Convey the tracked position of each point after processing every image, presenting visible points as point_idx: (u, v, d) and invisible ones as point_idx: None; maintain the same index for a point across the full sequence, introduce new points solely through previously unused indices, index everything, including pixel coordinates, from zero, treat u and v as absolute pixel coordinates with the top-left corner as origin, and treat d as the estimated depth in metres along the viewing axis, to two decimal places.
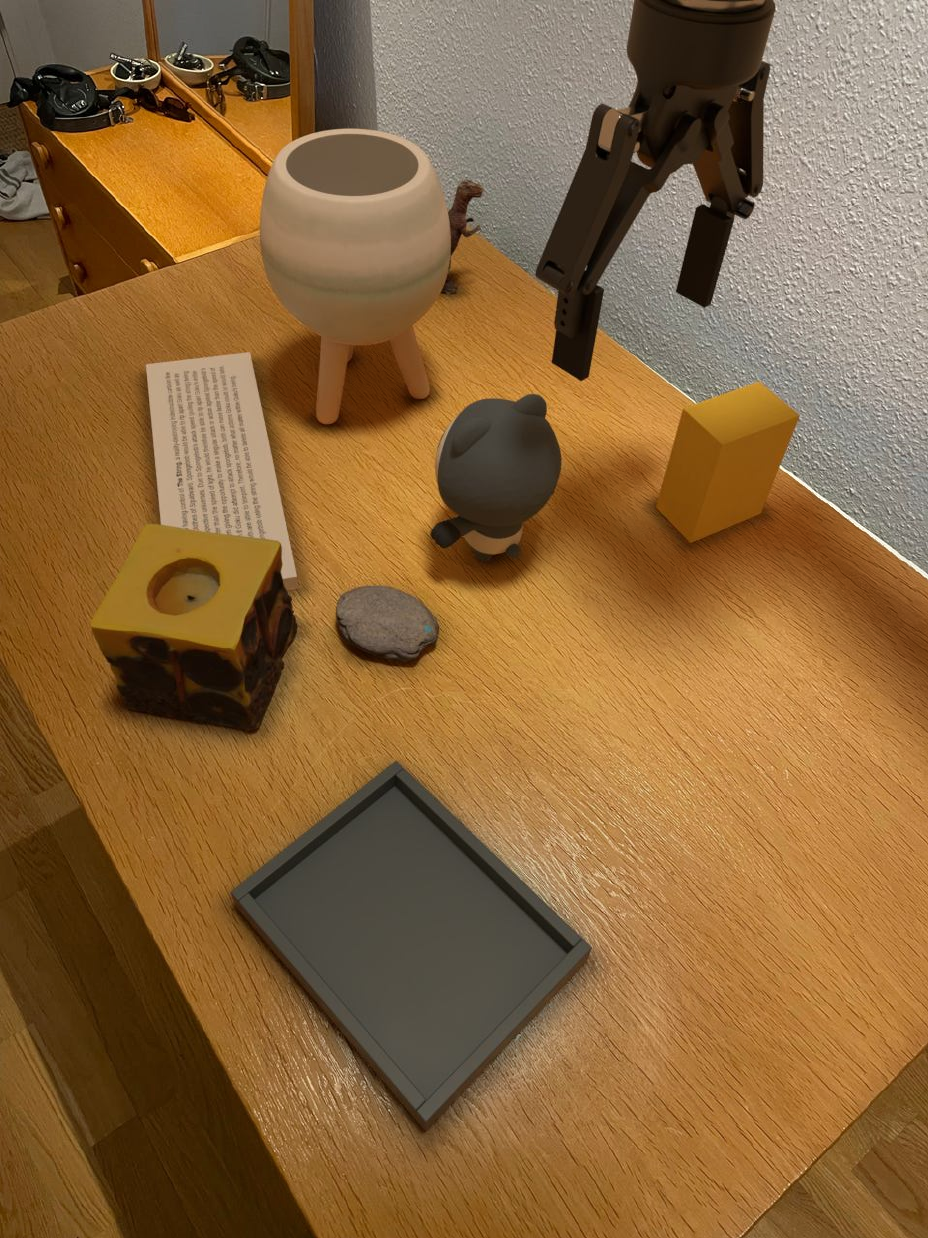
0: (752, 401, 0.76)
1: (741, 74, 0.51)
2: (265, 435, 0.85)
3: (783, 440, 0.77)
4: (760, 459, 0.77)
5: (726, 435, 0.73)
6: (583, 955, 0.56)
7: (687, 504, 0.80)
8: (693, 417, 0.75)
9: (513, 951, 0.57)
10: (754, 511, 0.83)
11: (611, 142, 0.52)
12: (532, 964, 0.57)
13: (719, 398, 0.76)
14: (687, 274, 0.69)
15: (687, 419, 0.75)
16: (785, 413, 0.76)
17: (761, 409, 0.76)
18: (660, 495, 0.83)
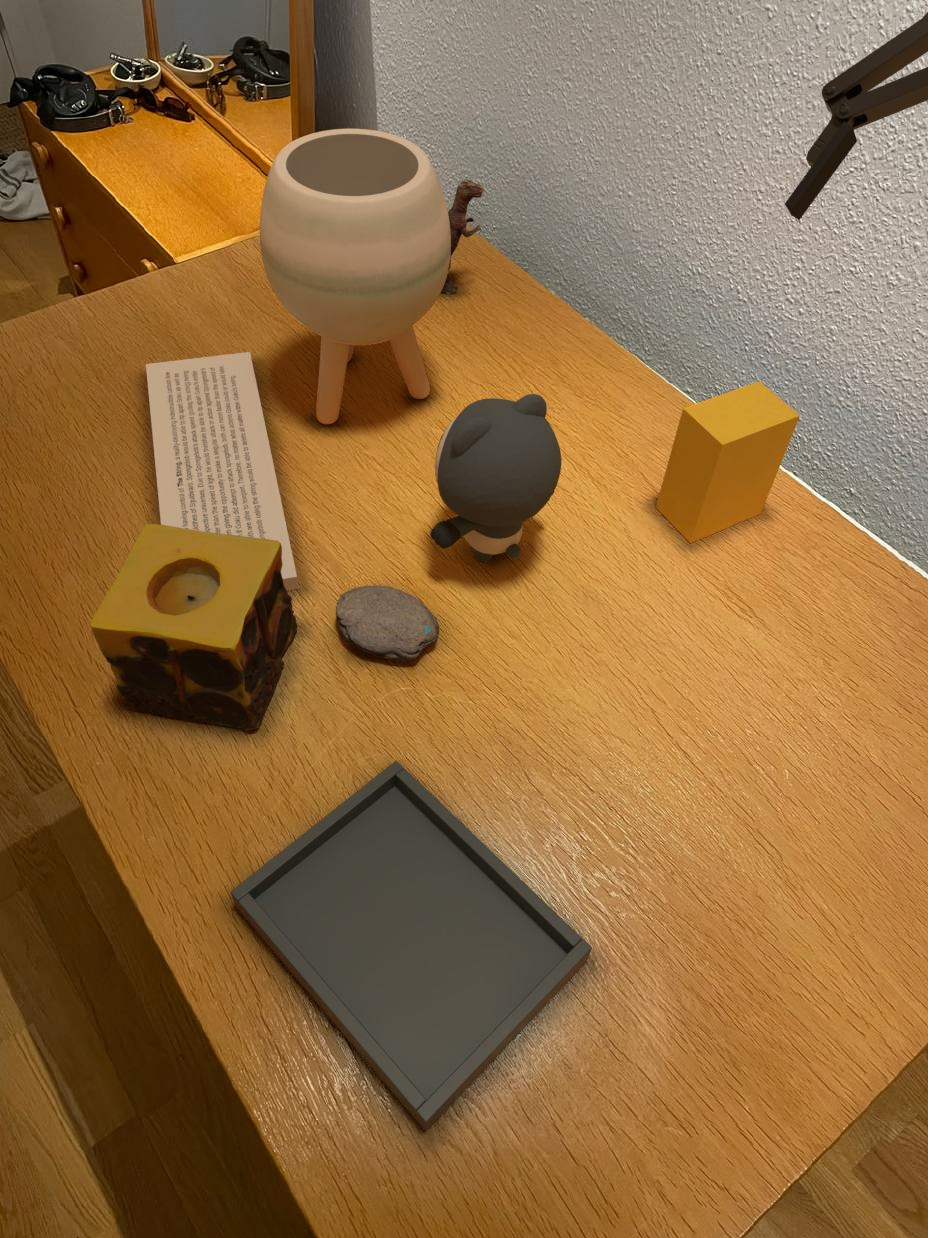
0: (752, 401, 0.76)
1: None
2: (265, 435, 0.85)
3: (783, 440, 0.77)
4: (760, 459, 0.77)
5: (726, 435, 0.73)
6: (583, 955, 0.56)
7: (687, 504, 0.80)
8: (693, 417, 0.75)
9: (513, 951, 0.57)
10: (754, 511, 0.83)
11: None
12: (532, 964, 0.57)
13: (719, 398, 0.76)
14: None
15: (687, 419, 0.75)
16: (785, 413, 0.76)
17: (761, 409, 0.76)
18: (660, 495, 0.83)
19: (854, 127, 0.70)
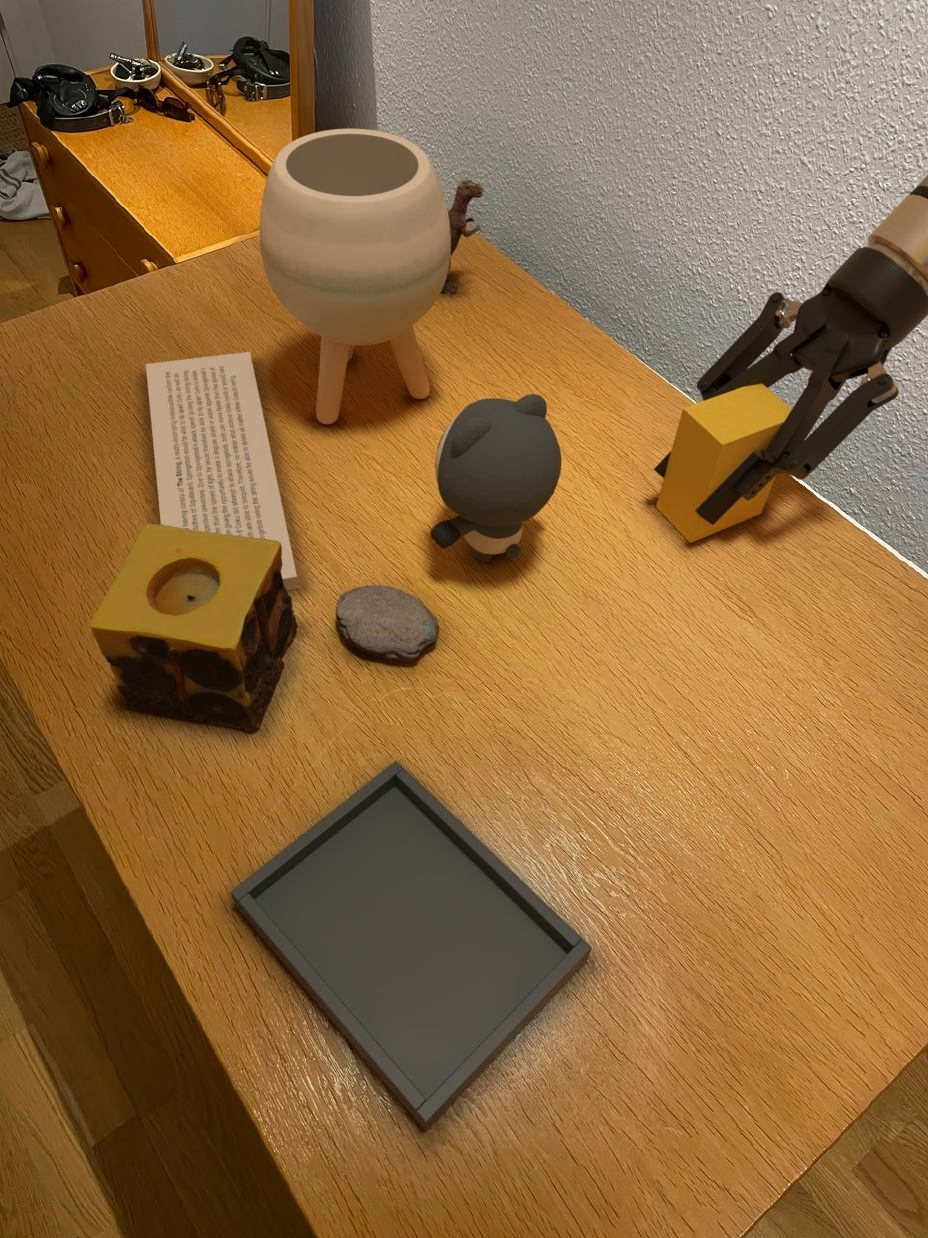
0: (752, 401, 0.76)
1: (849, 280, 0.71)
2: (265, 435, 0.85)
3: None
4: None
5: (726, 435, 0.73)
6: (583, 955, 0.56)
7: (687, 504, 0.80)
8: (693, 417, 0.75)
9: (513, 951, 0.57)
10: (754, 511, 0.83)
11: None
12: (532, 964, 0.57)
13: (719, 398, 0.76)
14: None
15: (687, 419, 0.75)
16: (785, 413, 0.76)
17: (761, 409, 0.76)
18: (660, 495, 0.83)
19: None
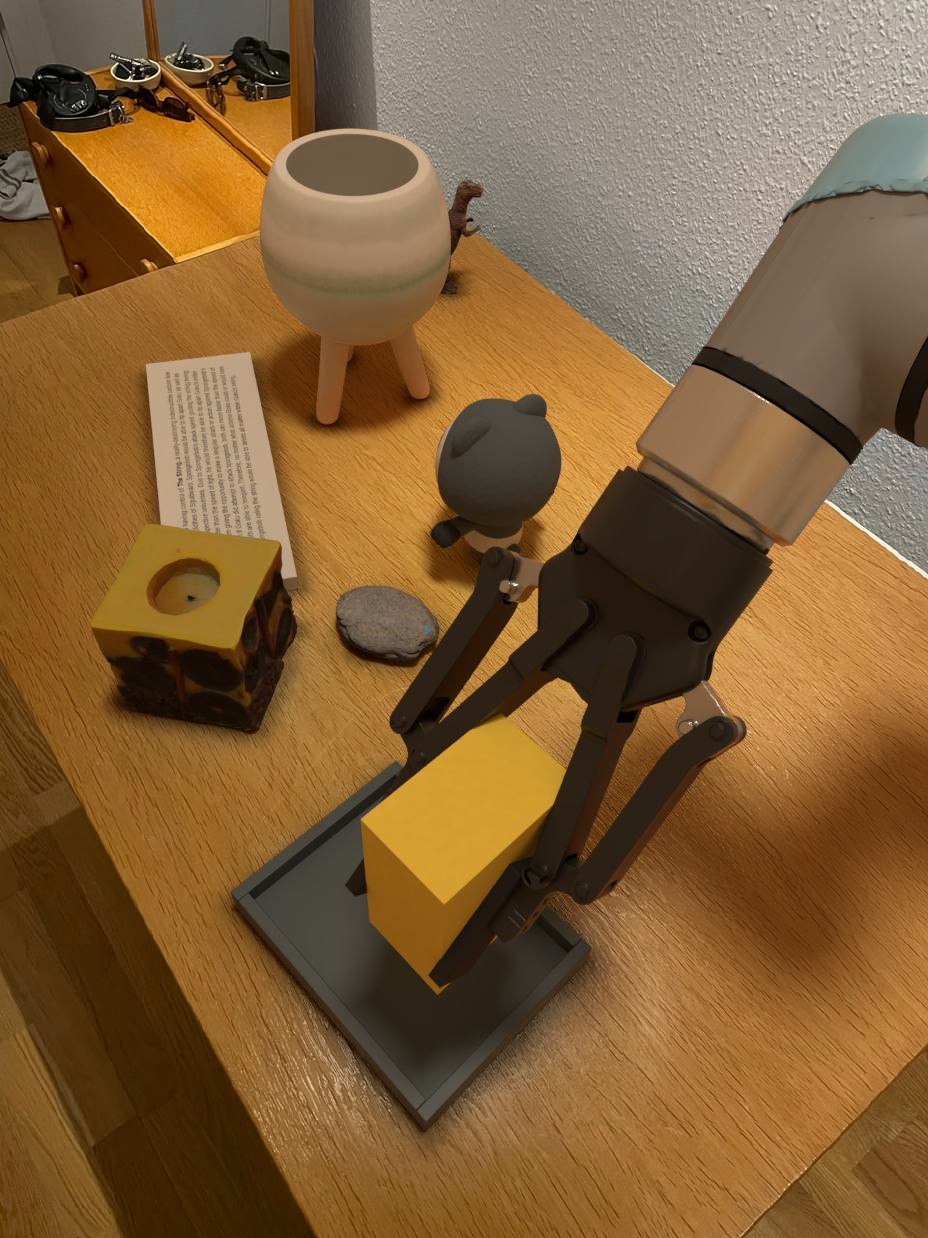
0: (489, 765, 0.40)
1: (618, 548, 0.36)
2: (265, 435, 0.85)
3: None
4: None
5: (449, 875, 0.37)
6: (583, 955, 0.56)
7: (415, 947, 0.43)
8: (381, 840, 0.38)
9: (513, 951, 0.57)
10: None
11: None
12: (532, 964, 0.57)
13: (427, 773, 0.40)
14: None
15: (373, 838, 0.39)
16: (552, 782, 0.40)
17: (508, 784, 0.40)
18: (370, 911, 0.46)
19: None
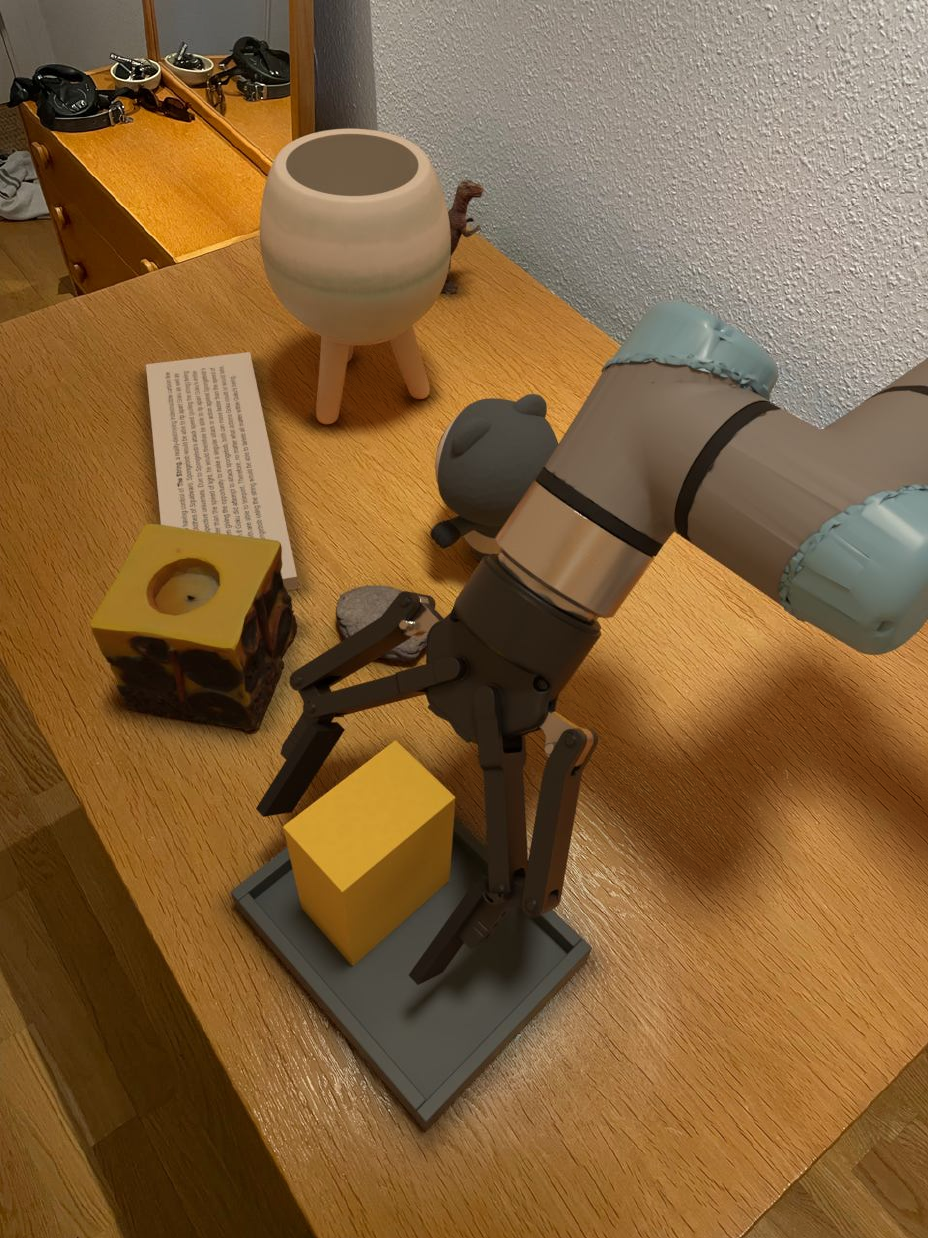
0: (386, 785, 0.52)
1: (476, 621, 0.48)
2: (265, 435, 0.85)
3: (443, 826, 0.53)
4: (416, 858, 0.53)
5: (348, 870, 0.49)
6: (583, 955, 0.56)
7: (332, 927, 0.55)
8: (298, 843, 0.50)
9: (513, 951, 0.57)
10: (437, 886, 0.59)
11: None
12: (532, 964, 0.57)
13: (337, 791, 0.52)
14: None
15: (292, 841, 0.50)
16: (434, 798, 0.52)
17: (399, 799, 0.51)
18: (300, 899, 0.57)
19: (338, 716, 0.57)
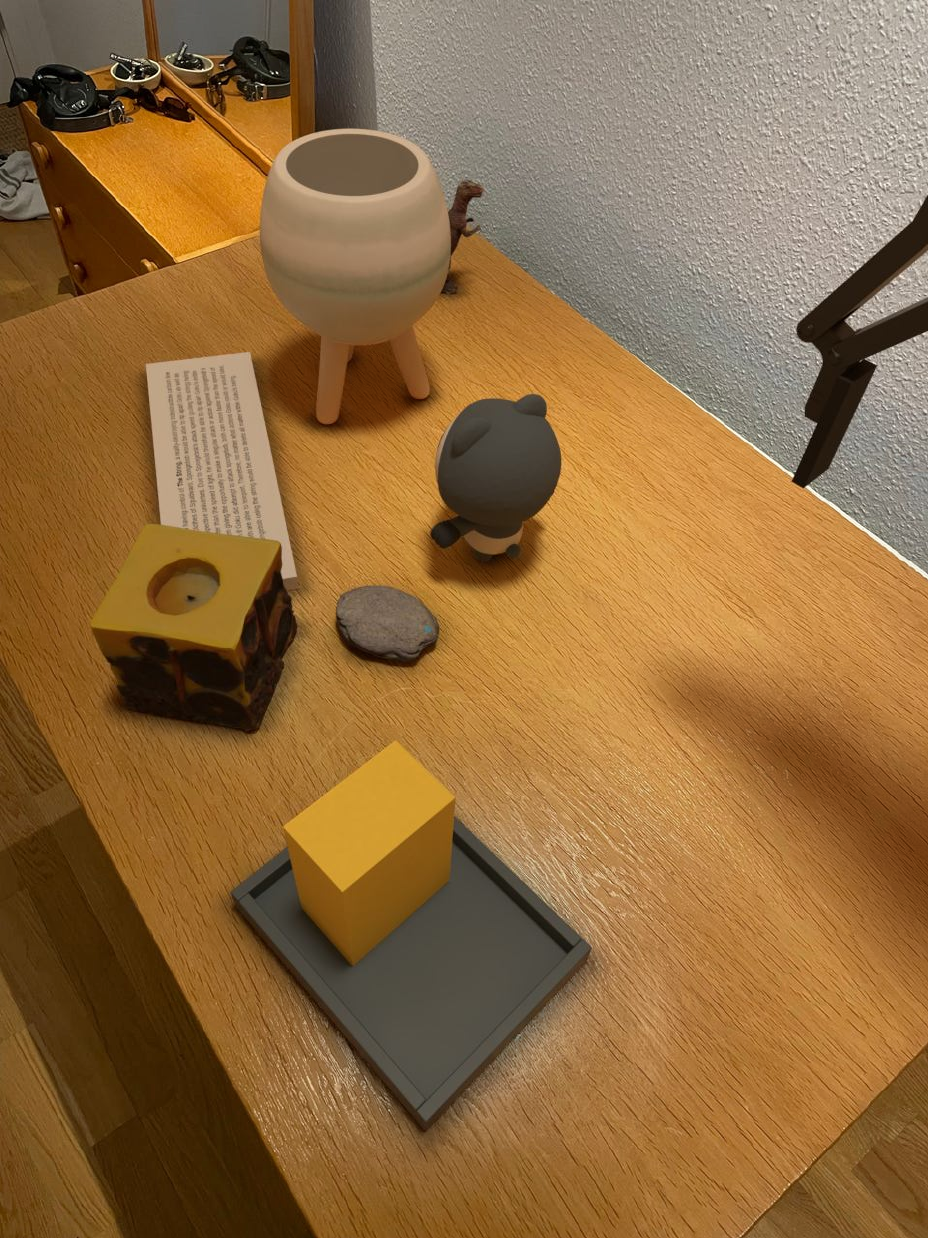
0: (386, 785, 0.52)
1: None
2: (265, 435, 0.85)
3: (443, 826, 0.53)
4: (416, 858, 0.53)
5: (348, 870, 0.49)
6: (583, 955, 0.56)
7: (332, 927, 0.55)
8: (298, 843, 0.50)
9: (513, 951, 0.57)
10: (437, 886, 0.59)
11: None
12: (532, 964, 0.57)
13: (337, 791, 0.52)
14: None
15: (292, 841, 0.50)
16: (434, 798, 0.52)
17: (399, 799, 0.51)
18: (300, 899, 0.57)
19: None
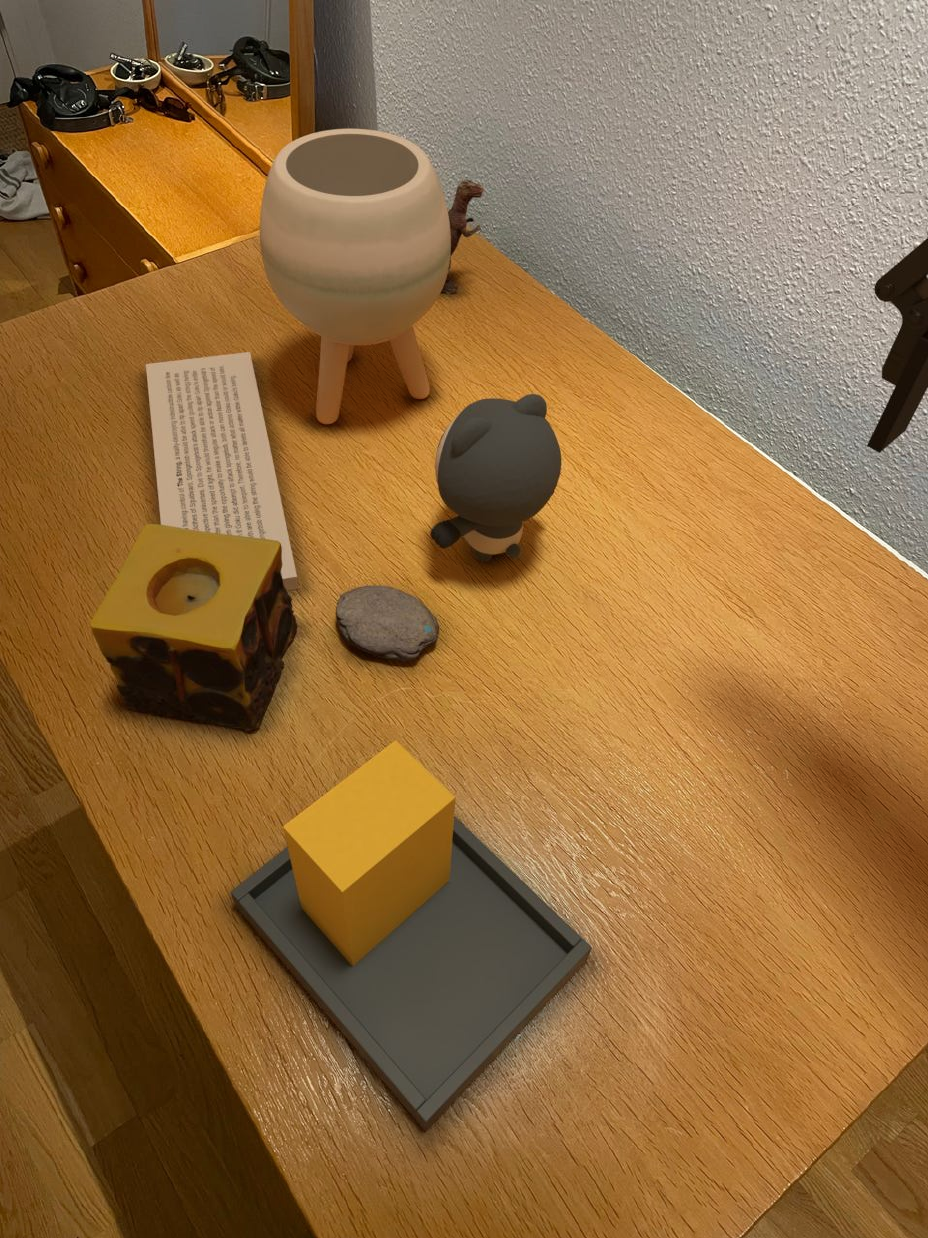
0: (386, 785, 0.52)
1: None
2: (265, 435, 0.85)
3: (443, 826, 0.53)
4: (416, 858, 0.53)
5: (348, 870, 0.49)
6: (583, 955, 0.56)
7: (332, 927, 0.55)
8: (298, 843, 0.50)
9: (513, 951, 0.57)
10: (437, 886, 0.59)
11: None
12: (532, 964, 0.57)
13: (337, 791, 0.52)
14: None
15: (292, 841, 0.50)
16: (434, 798, 0.52)
17: (399, 799, 0.51)
18: (300, 899, 0.57)
19: None
